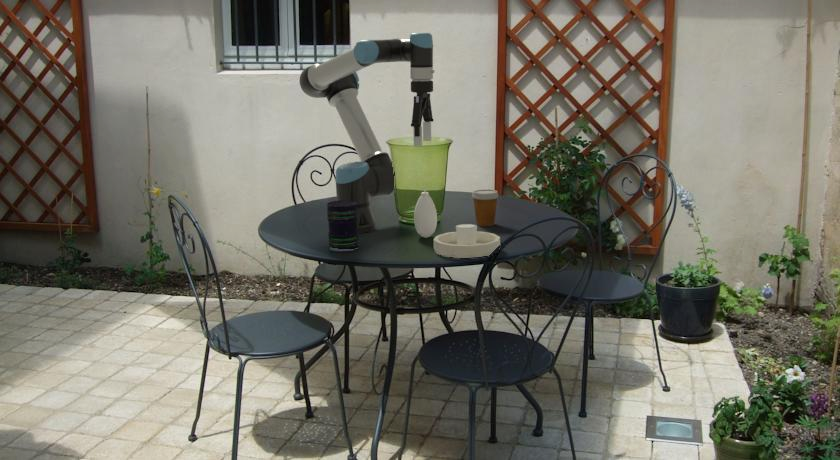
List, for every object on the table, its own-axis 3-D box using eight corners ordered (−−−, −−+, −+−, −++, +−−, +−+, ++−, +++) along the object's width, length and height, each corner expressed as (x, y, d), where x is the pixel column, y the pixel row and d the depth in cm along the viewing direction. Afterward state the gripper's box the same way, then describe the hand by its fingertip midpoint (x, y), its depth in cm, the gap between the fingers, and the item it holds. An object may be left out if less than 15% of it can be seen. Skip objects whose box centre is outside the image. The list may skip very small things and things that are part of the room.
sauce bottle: (414, 234, 303) (413, 183, 299) (437, 234, 303) (436, 182, 299) (414, 240, 296) (412, 186, 292) (437, 239, 295) (436, 186, 292)
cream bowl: (428, 257, 272) (428, 244, 271) (441, 242, 291) (441, 230, 291) (494, 259, 267) (494, 246, 267) (503, 243, 287) (503, 231, 286)
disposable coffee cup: (497, 227, 311) (497, 194, 308) (470, 227, 313) (469, 193, 310) (500, 222, 320) (500, 189, 318) (474, 221, 322) (473, 189, 319)
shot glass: (462, 251, 275) (462, 229, 273) (451, 246, 281) (451, 225, 279) (481, 248, 278) (481, 226, 276) (470, 243, 284) (470, 222, 282)
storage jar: (334, 253, 280) (332, 207, 277) (324, 247, 289) (322, 202, 286) (363, 249, 284) (361, 204, 281) (353, 243, 293) (351, 199, 289)
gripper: (424, 82, 283) (425, 148, 288) (440, 77, 306) (441, 138, 311) (401, 82, 284) (402, 148, 289) (419, 77, 308) (420, 138, 313)
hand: (422, 143), depth 300 cm, fingers open, 13 cm apart
